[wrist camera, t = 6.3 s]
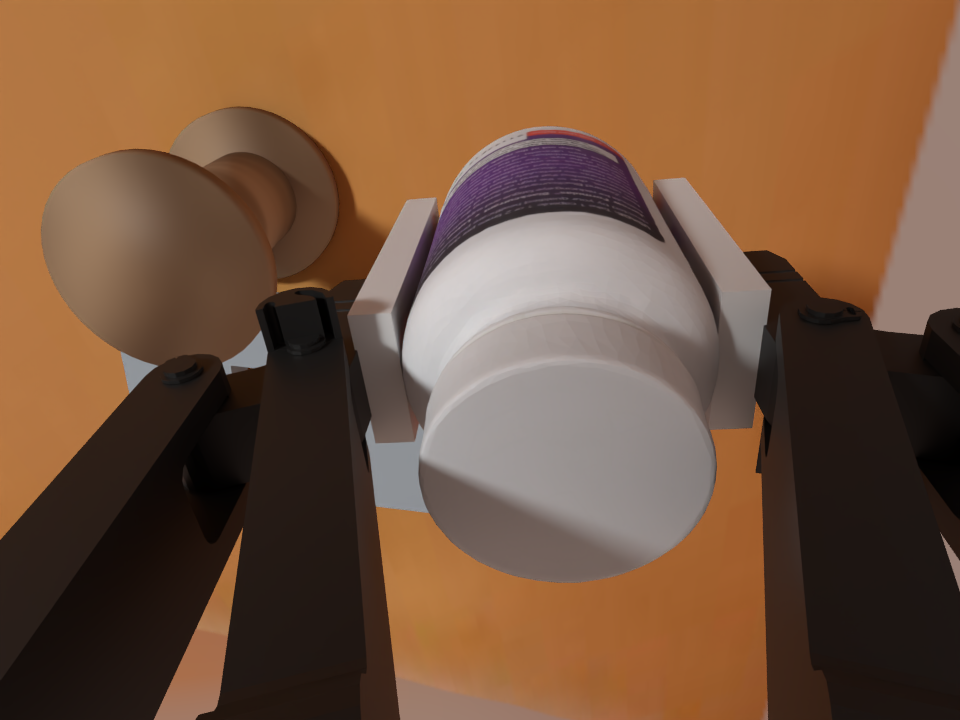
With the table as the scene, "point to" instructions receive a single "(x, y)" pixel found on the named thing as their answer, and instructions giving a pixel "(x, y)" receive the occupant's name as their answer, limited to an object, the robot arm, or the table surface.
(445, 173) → the table surface
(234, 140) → the bobbin
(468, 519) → the pill bottle
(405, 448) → the notched board
